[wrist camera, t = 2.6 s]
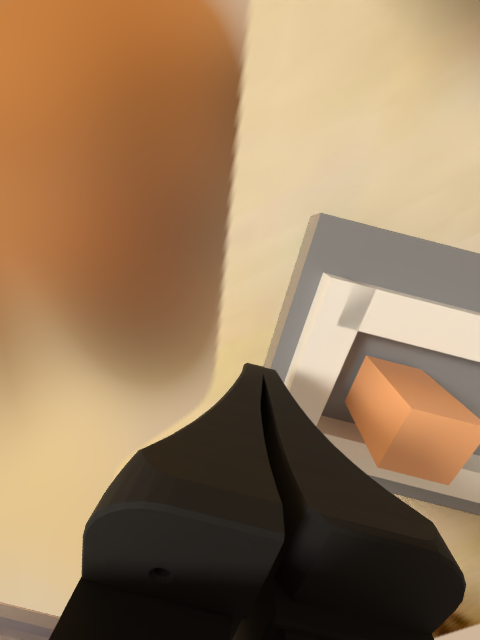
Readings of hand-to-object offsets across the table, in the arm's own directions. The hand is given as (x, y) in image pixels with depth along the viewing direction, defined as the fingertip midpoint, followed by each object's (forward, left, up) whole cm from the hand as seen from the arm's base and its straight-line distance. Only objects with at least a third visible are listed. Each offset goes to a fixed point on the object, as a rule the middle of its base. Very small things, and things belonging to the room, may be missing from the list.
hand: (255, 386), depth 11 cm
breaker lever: (0, -7, -3) cm, 8 cm away
